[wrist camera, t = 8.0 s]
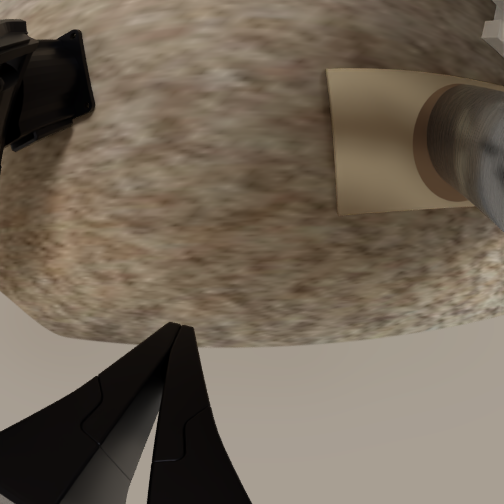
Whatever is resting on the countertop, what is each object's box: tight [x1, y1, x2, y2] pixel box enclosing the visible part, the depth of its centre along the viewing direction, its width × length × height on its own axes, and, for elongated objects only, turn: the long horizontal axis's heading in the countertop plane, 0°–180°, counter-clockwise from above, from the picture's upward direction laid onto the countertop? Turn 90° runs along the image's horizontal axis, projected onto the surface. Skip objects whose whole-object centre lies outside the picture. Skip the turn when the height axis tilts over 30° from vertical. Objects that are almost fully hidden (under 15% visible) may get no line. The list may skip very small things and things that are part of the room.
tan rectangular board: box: [325, 68, 504, 216], centre depth 16 cm, size 10×14×1 cm, turn 99°
